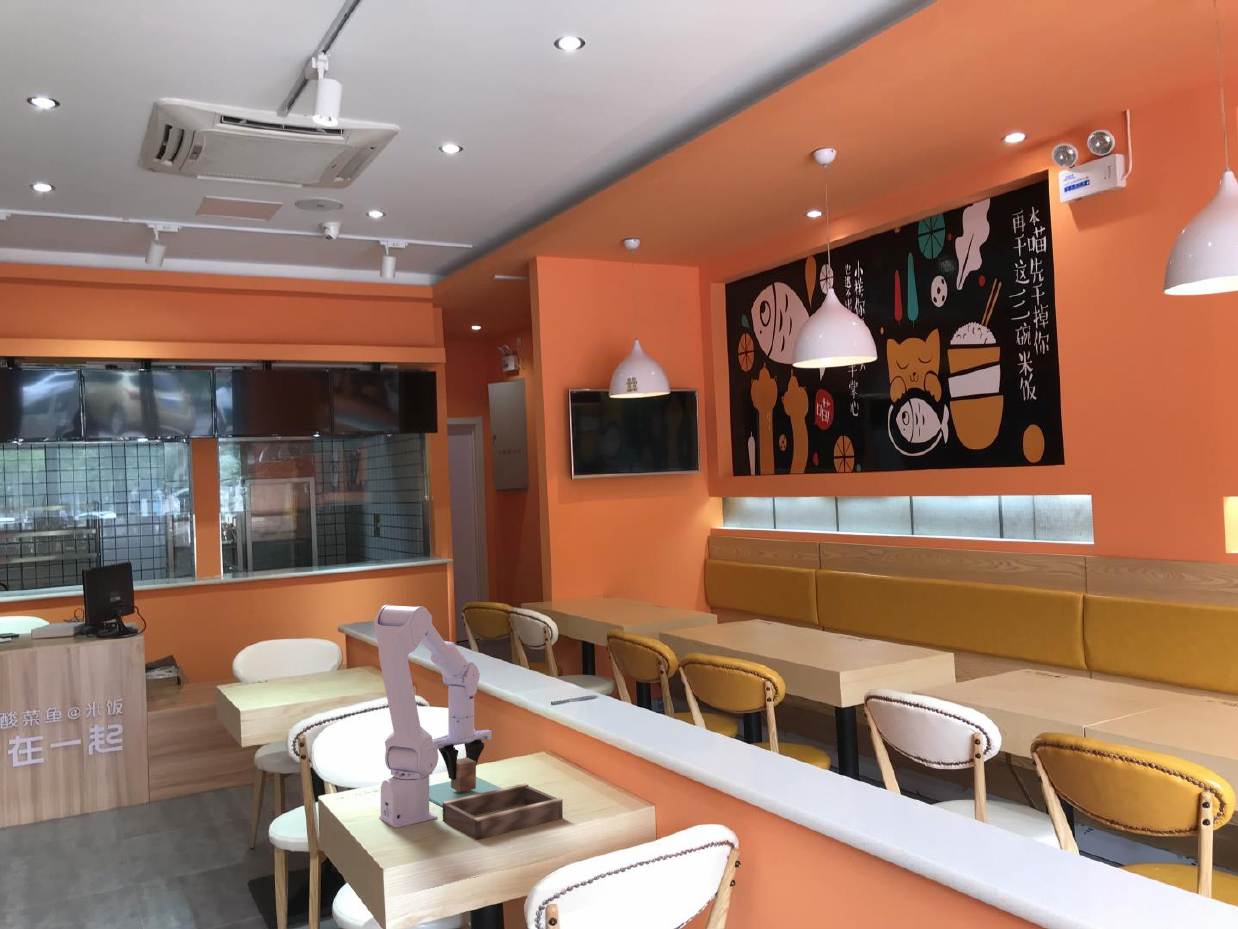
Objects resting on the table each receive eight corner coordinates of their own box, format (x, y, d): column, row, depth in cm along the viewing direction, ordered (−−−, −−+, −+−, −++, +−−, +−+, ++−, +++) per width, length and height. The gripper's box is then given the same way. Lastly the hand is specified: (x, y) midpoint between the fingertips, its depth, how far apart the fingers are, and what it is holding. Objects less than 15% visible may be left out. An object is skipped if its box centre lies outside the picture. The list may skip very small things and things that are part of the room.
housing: (477, 840, 186) (477, 820, 186) (442, 820, 197) (442, 801, 197) (562, 818, 199) (562, 799, 199) (525, 801, 210) (525, 783, 210)
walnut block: (459, 792, 212) (460, 765, 212) (451, 787, 215) (451, 760, 215) (475, 788, 215) (476, 761, 215) (466, 784, 218) (467, 757, 218)
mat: (446, 809, 204) (446, 807, 204) (412, 791, 217) (412, 789, 217) (511, 794, 214) (511, 792, 214) (475, 778, 227) (475, 776, 227)
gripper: (440, 723, 209) (440, 787, 208) (498, 713, 218) (498, 774, 217) (425, 717, 214) (425, 779, 214) (482, 708, 223) (482, 768, 223)
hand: (461, 777), depth 216 cm, fingers closed on walnut block, 4 cm apart
